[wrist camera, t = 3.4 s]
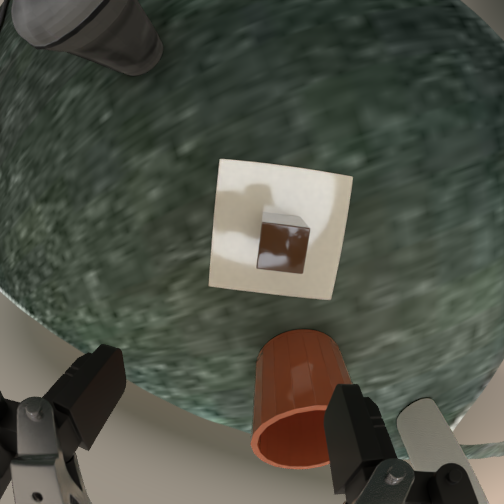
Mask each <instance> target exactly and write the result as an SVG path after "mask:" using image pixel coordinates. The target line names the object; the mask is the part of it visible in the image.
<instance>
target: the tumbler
mask: <svg viewBox="0 0 504 504" xmlns="http://www.w3.org/2000/svg"><path fill="white" fill-rule="evenodd" d="M337 384H353V382H352V379H351V377H350V374H349V371H348V369H347V366H346V363H345V361H344V358H343V355H342V353H341V351H340V349H339V347H338V345H337V343H336V342H335V341H334V340H333V339H332V338H331V337H329V336H328V335H326V334H324V333H322V332H319V331H315V330H309V329H298V330H292V331H288V332H284V333H282V334H280V335H278V336H276V337H274V338H273V339H271V340H270V341H269V342H268V343H266V344H265V346H264V347H263V348H262V349H261V351H260V352H259V355H258V357H257V361H256V369H255V384H254V399H253V415H252V430H251V447H252V449H253V452H254V453H255V455H256V456H257V457H259V458H260V459H261V460H262V461H264V462H266V463H268V464H271V465H273V466H276V467H281V468H287V469H308V468H315V467H321V466H324V465H327V464H330V461H329V454H328V448H327V442H326V436H325V431H324V414H325V411H326V409H327V406H328V404H329V401H330V399H331V397H332V394H333V392H334V389H335V387H336V385H337Z"/></svg>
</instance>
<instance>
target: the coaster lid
mask: <svg viewBox="0 0 504 504" xmlns="http://www.w3.org/2000/svg"><path fill="white" fill-rule="evenodd" d="M352 181H353V177H352V176H346V175H341V174H335V173H330V172H324V171H318V170H312V169H305V168H298V167H292V166H284V165H277V164H269V163H260V162H251V161H241V160H231V159H220V160H219V169H218V179H217V189H216V199H215V210H214V221H213V233H212V245H211V258H210V273H209V286H211V287H218V288H226V289H234V290H242V291H250V292H258V293H267V294H275V295H284V296H294V297H303V298H313V299H323V300H331V297H332V293H333V288H334V284H335V279H336V274H337V269H338V265H339V260H340V255H341V249H342V244H343V239H344V233H345V227H346V221H347V215H348V209H349V202H350V196H351V189H352Z"/></svg>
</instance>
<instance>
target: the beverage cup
mask: <svg viewBox="0 0 504 504" xmlns="http://www.w3.org/2000/svg"><path fill="white" fill-rule="evenodd" d="M12 19H13V24H14V26H15V29H16V31H17V32H18V34H19V35H20V36H21V37H23V38H24V39H25V40H27V41H28V42H29V43H30V44H31V45H32V46H33V47H35V48H36V49H46V50H52V51H60V52H67V53H70V54H73V55H76V56H79V57H81V58H84V59H87V60H90V61H92V62H95V63H97V64H100V65H103V66H105V67H108V68H110V69H113V70H115V71H117V72H122V73H125V74H127V75H131V76H136V75H141V74H144V73H146V72H148V71H149V70H151V69H152V68H153V67H154V66H155V65H156V64H157V63H158V62H159V60H160V58H161V56H162V53H163V44H162V42H161V40H160V38H159V35H158V33H157V32H156V30H155V28H154V27H153V25H152V23H151V22H150V20H149V18H148V17H147V15H146V13H145V12H144V10H143V8H142V7H141V5H140V4H139V2H138V0H13V3H12Z"/></svg>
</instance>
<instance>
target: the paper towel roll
mask: <svg viewBox="0 0 504 504" xmlns="http://www.w3.org/2000/svg"><path fill="white" fill-rule="evenodd" d="M397 429H398V431H399V434H400V436H401V438H402V441H403V443H404V445H405V448H406V450H407V453H408V455H409V458H410V460H411V462H412V465H413V468H414V470H415V471H425V472H436V471H437V470H438V469H439V468H440V467H441V466H442V465H444V464H447V463H456V464H458V465H460V466H462V467H463V468H464V469H465V470H466V472H467V474H468V476H469V479H470V481H471V484H472V486H473V489H474V492H475V494H476V497H477V500H478V502H479V504H489V502H488V500H487V498H486V496H485V494H484V492H483V489H482V487H481V485H480V484H479V481H478V479H477V477H476V475H475V473H474V471H473V469H472V467H471V466H470V463H469V462H468V460H467V458H466V456H465V454H464V452H463V450H462V448H461V447H460V445H459V443H458V441H457V439H456V438H455V436H454V434H453V432H452V431H451V429H450V427H449V425H448V424H447V422H446V420H445V419H444V417H443V415H442V414H441V412H440V410H439V409H438V407H437V405H436V404H435V402H434V400H432V399H429V398H425V399H420V400H418V401H416V402H414V403H412V404H411V405H409V406H408V407H406V408H405V409H404V410H403V411H402V412H401V413H400V415H399V417H398V418H397Z"/></svg>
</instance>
